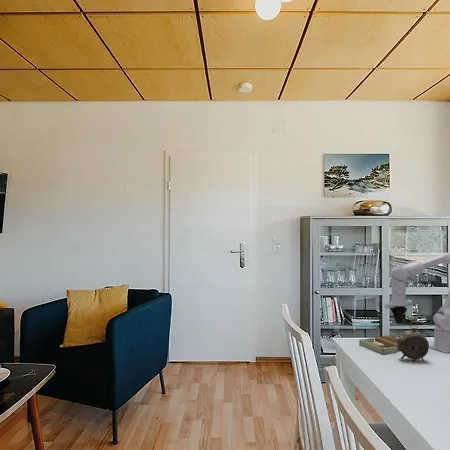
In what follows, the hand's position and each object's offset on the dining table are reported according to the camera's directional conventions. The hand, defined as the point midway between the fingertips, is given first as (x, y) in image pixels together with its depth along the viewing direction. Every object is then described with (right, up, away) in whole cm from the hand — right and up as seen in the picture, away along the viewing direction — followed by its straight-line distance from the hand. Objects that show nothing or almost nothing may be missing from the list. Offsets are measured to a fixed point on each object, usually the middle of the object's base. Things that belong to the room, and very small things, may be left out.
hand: (398, 323), depth 171 cm
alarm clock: (-3, -11, -19) cm, 22 cm away
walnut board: (-3, -10, -1) cm, 11 cm away
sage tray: (-11, -10, -5) cm, 16 cm away
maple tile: (-12, -8, -5) cm, 15 cm away
